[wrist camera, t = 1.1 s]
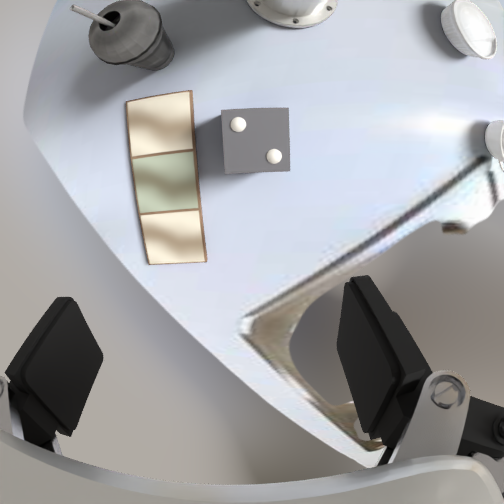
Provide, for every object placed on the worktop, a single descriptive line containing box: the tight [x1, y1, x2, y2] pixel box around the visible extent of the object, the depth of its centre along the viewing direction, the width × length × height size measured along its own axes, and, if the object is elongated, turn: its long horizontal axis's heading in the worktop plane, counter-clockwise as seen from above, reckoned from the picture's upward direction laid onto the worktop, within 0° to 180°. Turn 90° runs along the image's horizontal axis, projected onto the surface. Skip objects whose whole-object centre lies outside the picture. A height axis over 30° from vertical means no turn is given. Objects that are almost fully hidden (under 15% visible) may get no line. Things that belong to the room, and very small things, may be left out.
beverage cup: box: [70, 0, 174, 70], centre depth 19 cm, size 7×7×20 cm
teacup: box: [485, 121, 504, 172], centre depth 31 cm, size 10×8×5 cm
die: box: [221, 108, 290, 174], centre depth 31 cm, size 7×7×7 cm
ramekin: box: [441, 0, 497, 59], centre depth 23 cm, size 11×11×5 cm
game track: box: [126, 90, 207, 265], centre depth 36 cm, size 24×9×1 cm, turn 2°
